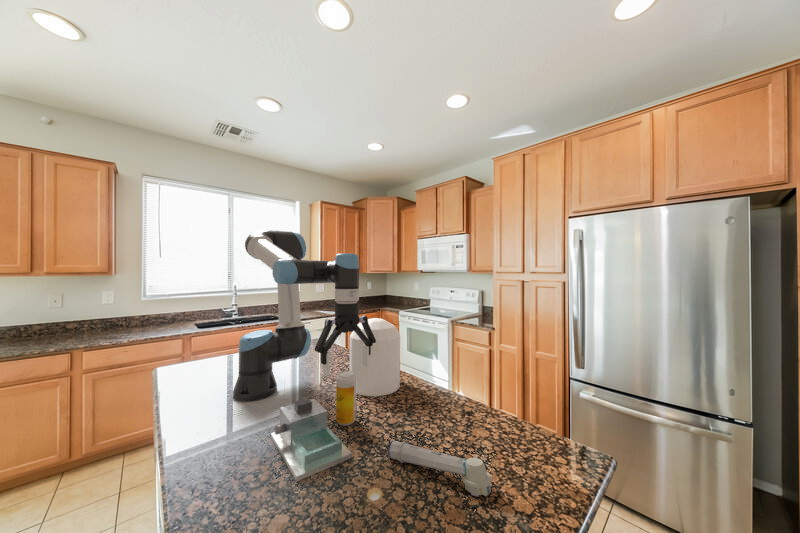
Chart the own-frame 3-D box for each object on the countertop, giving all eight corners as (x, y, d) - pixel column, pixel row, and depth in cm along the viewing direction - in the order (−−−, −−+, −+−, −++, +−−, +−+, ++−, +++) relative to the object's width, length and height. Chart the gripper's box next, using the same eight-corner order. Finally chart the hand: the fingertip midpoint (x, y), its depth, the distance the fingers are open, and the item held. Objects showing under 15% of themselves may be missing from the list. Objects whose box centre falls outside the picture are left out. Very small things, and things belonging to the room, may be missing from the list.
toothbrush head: (396, 435, 77) (491, 453, 65) (398, 462, 77) (495, 484, 64) (385, 445, 73) (484, 466, 60) (387, 474, 72) (489, 500, 60)
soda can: (337, 417, 94) (337, 370, 95) (356, 416, 95) (356, 370, 95) (334, 427, 88) (335, 377, 89) (355, 426, 89) (355, 376, 89)
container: (409, 382, 124) (409, 316, 124) (380, 401, 106) (380, 324, 107) (370, 373, 135) (371, 312, 136) (338, 388, 117) (338, 318, 118)
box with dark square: (269, 437, 82) (269, 401, 83) (318, 421, 91) (318, 389, 91) (294, 482, 65) (295, 436, 65) (352, 457, 74) (352, 417, 74)
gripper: (313, 306, 82) (312, 382, 81) (386, 300, 97) (386, 365, 96) (303, 303, 88) (303, 375, 87) (373, 299, 103) (374, 359, 102)
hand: (346, 370), depth 92 cm, fingers open, 13 cm apart
